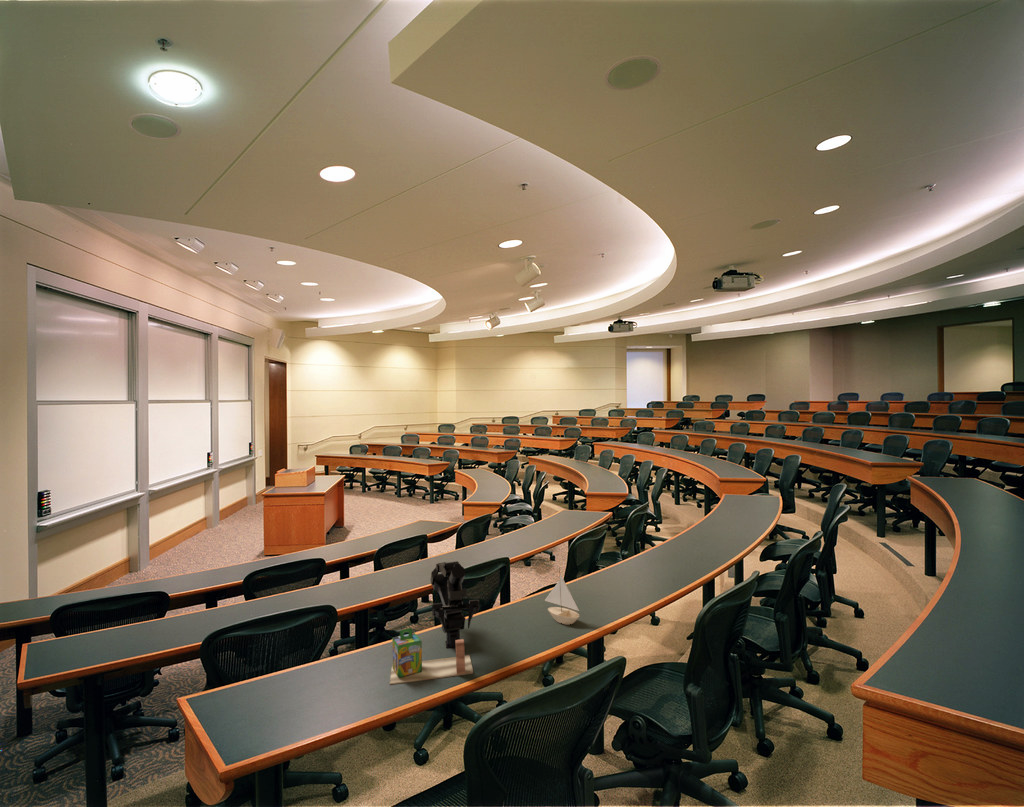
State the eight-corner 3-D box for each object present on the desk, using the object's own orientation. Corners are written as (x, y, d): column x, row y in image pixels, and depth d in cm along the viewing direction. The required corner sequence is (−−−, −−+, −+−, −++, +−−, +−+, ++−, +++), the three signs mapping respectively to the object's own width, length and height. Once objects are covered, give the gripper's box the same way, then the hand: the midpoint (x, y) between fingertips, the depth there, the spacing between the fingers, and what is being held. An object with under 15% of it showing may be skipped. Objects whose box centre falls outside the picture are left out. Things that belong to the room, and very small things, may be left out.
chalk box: (398, 679, 174) (397, 637, 175) (392, 668, 182) (391, 628, 183) (423, 672, 179) (422, 631, 180) (415, 662, 187) (414, 623, 188)
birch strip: (392, 666, 185) (391, 635, 186) (469, 656, 191) (468, 626, 192) (389, 684, 172) (388, 651, 172) (473, 673, 177) (472, 641, 178)
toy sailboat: (583, 568, 220) (571, 573, 214) (586, 624, 218) (574, 630, 212) (549, 560, 235) (537, 564, 229) (551, 613, 233) (539, 618, 227)
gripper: (431, 583, 191) (431, 622, 179) (478, 579, 194) (481, 618, 182) (432, 596, 198) (432, 635, 187) (477, 592, 201) (480, 630, 190)
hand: (456, 629), depth 186 cm, fingers open, 9 cm apart
